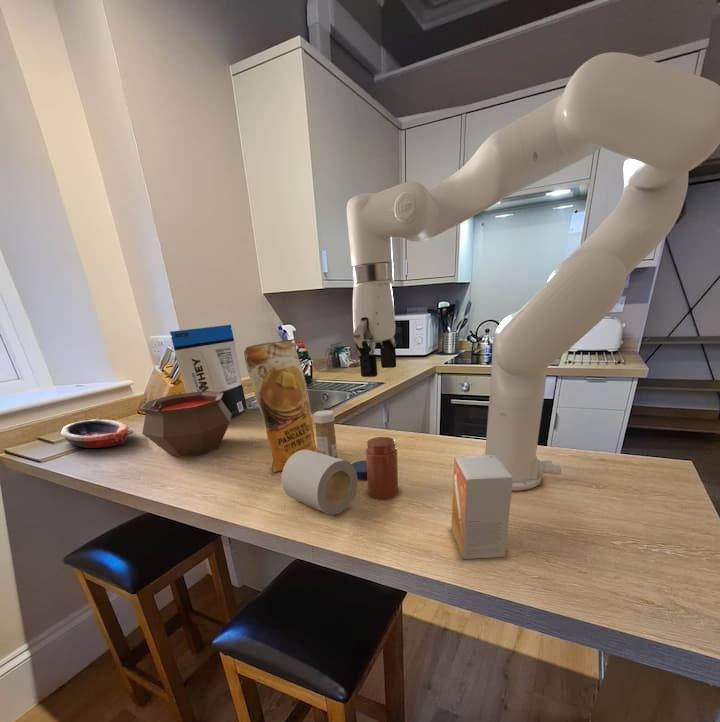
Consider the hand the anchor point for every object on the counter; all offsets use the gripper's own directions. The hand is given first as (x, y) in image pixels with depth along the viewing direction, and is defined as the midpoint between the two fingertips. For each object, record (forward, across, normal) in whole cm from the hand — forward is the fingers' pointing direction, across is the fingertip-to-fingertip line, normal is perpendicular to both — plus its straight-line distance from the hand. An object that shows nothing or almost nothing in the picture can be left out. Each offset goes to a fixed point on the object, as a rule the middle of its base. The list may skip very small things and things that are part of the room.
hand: (379, 371), depth 79 cm
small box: (+22, +22, +24) cm, 39 cm away
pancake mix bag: (+21, +1, -25) cm, 33 cm away
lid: (+20, +3, -4) cm, 21 cm away
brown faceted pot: (+20, +2, -58) cm, 62 cm away
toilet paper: (+22, +19, -6) cm, 29 cm away
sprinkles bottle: (+22, +3, -13) cm, 25 cm away
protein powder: (+20, -26, -75) cm, 82 cm away
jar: (+22, +10, +4) cm, 24 cm away
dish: (+19, +6, -96) cm, 98 cm away
